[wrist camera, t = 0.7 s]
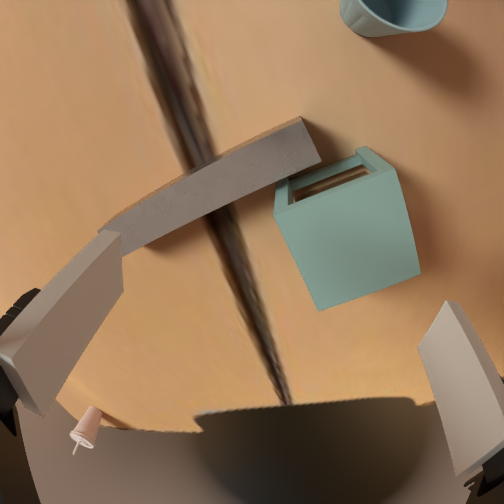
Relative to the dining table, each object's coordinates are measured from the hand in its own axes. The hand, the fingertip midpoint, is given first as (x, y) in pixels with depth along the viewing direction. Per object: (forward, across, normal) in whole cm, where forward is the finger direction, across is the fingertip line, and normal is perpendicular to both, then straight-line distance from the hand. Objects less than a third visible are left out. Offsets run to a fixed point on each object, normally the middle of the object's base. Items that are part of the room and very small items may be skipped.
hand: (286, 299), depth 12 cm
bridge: (+22, +6, -3) cm, 24 cm away
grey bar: (+23, -8, -4) cm, 24 cm away
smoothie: (+23, -31, -63) cm, 73 cm away
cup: (+23, +5, +18) cm, 29 cm away
